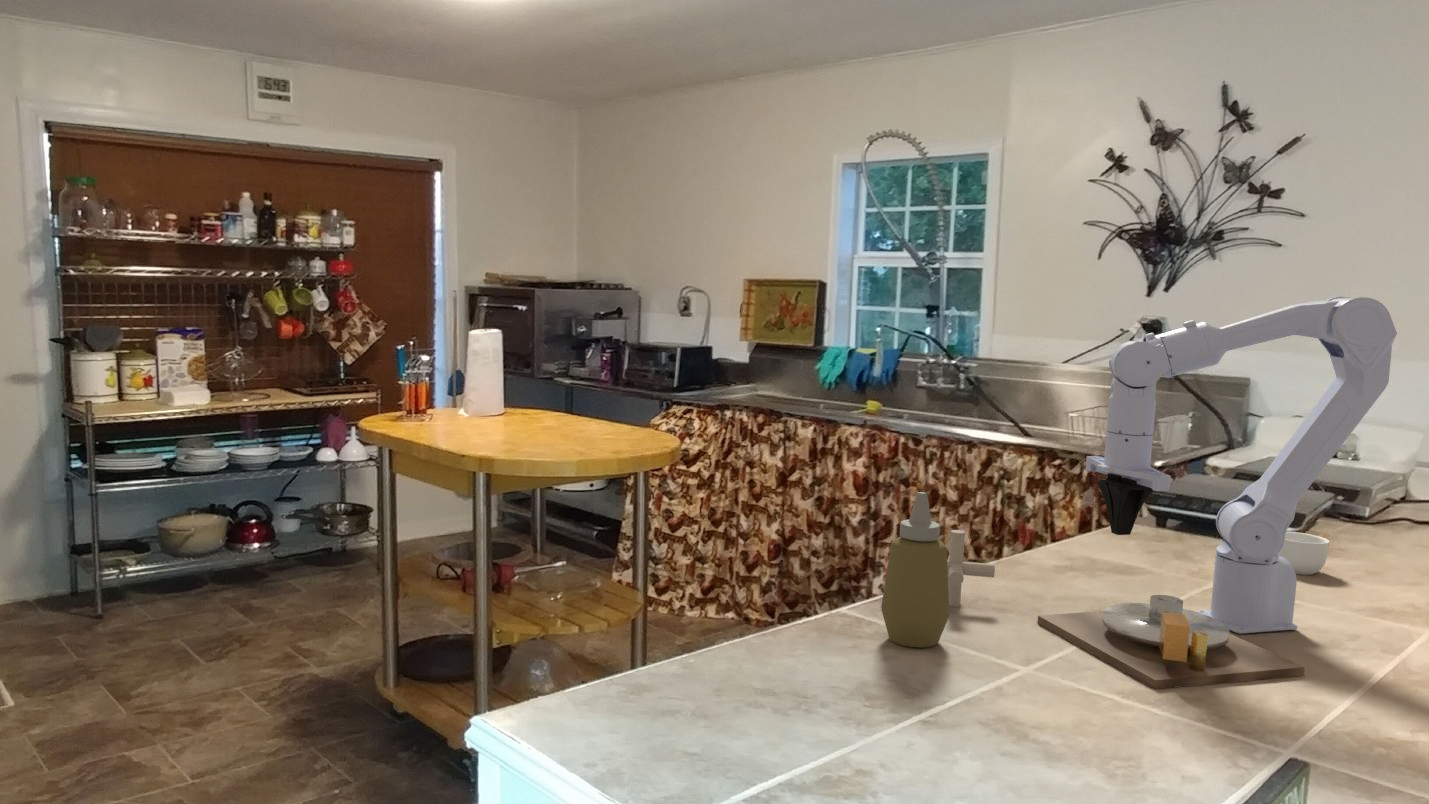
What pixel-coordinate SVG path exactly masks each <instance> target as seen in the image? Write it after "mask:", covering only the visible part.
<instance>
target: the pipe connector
mask: <svg viewBox="0 0 1429 804" xmlns="http://www.w3.org/2000/svg"><path fill="white" fill-rule="evenodd" d="M965 533H966V532H965V530H962V529H951V530H950V540H949V554H948V555H947V565H948V590H949V607H953V608H957V607H961V600H962V599H961V597H962V584H963V582H964V576H971V577H984V578H995V571H996V570H995V569H996V567H995V563H988V562H987V563H985V562H972V561H964V552H965V551H964V549H965V537H966V536H965V535H966V534H965Z"/></svg>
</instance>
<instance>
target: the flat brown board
mask: <svg viewBox="0 0 1429 804" xmlns="http://www.w3.org/2000/svg"><path fill="white" fill-rule="evenodd" d="M1102 616H1103V610H1102V611H1101V610H1100V611H1086V612H1071V613H1070V612H1069V613H1058V614H1057V613H1055V614H1053V613H1052V614H1041V615H1040V614H1039V615H1037V624H1038V625H1041V626H1042V627H1043V628H1045V629H1047V630H1049V631H1051V632H1053V633H1055V634H1056V635H1057V636H1059V637H1062V638H1063V639H1065V640H1067V641H1068V642H1070V643H1072V644H1074V645H1076V646H1077V647H1079V648H1081V649H1083V650H1084V651H1086V652H1088V653H1090V654H1091V655H1093V656H1096V657H1097V658H1098V659H1101V660H1102V661H1104V662H1106V663H1107V664H1109V665H1111V666H1113V668H1117V669H1118V670H1120V671H1121V672H1124V673H1125V674H1127V675H1128V676H1131V677H1132V678H1134V679H1136V680H1138V681H1140V682H1141V683H1143V684H1145V685H1147V686H1148V687H1151V688H1152V689H1154V690H1161V689H1172V688H1181V687H1191V686H1192V687H1193V686H1194V687H1195V686H1203V685H1213V684H1214V685H1215V684H1227V683H1236V682H1238V683H1239V682H1245V681H1246V682H1248V681H1260V680H1270V679H1280V678H1281V679H1282V678H1293V677H1302V676H1305V666H1303V665H1301V664H1299V663H1296V662H1294V661H1293V660H1290V659H1287V658H1285V657H1284V656H1280V655H1279V654H1277V653H1274V652H1271V651H1269V650H1267V649H1265V648H1262V647H1261V646H1259V645H1256V644H1254V643H1251V642H1249V641H1247V640H1245V639H1242V638H1241V637H1238V636H1235V635H1234V634H1232V633H1229V641H1228V643H1227V644H1226V645H1224V646H1222V647H1219V648H1214V649H1207V652H1206V663H1205V671H1202V672H1199V671H1194V670H1191V669H1190V668H1189V662H1190V651H1191V650H1188V652H1187V662H1182V661H1175V660H1167V659H1163V658H1162V654H1161V651H1160V648H1159V646H1155V645H1150V644H1145V643H1141V642H1138V641H1134V640H1131V639H1128V638H1125V637H1123V636H1120V635H1118V634H1116V633H1114V632H1112V631H1110V630H1109V629H1107V628H1106V627H1105V626H1104V625H1103V623H1102Z"/></svg>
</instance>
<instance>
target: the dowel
mask: <svg viewBox="0 0 1429 804" xmlns="http://www.w3.org/2000/svg"><path fill="white" fill-rule="evenodd" d="M1207 641H1208V634H1206V633H1203V632H1192V640H1191V651H1190V662H1189V668H1190V669H1191V670H1194V671H1199V672H1202V671H1205V663H1206V652H1207Z"/></svg>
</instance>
